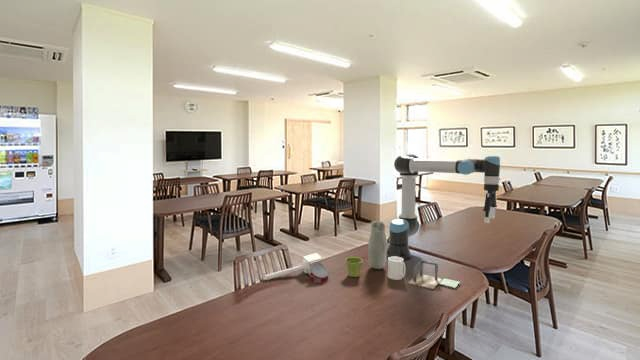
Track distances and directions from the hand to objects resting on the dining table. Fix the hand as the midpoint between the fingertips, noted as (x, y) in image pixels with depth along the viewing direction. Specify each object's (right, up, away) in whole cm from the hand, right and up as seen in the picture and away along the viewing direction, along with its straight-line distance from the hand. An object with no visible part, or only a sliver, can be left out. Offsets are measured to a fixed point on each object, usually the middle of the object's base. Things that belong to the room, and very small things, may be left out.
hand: (489, 220), depth 192 cm
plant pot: (-78, -30, -6) cm, 84 cm away
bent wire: (-42, -29, -16) cm, 53 cm away
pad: (-30, -31, -19) cm, 47 cm away
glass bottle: (-63, -29, +4) cm, 70 cm away
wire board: (-42, -30, -16) cm, 54 cm away
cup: (-55, -30, -10) cm, 63 cm away
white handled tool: (-112, -31, -5) cm, 116 cm away
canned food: (-97, -31, -11) cm, 103 cm away
